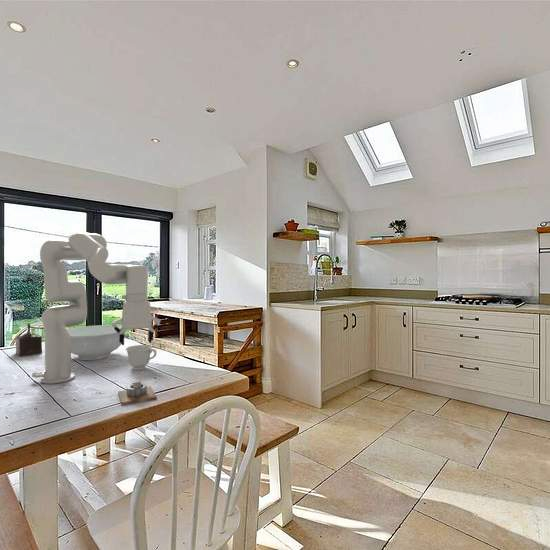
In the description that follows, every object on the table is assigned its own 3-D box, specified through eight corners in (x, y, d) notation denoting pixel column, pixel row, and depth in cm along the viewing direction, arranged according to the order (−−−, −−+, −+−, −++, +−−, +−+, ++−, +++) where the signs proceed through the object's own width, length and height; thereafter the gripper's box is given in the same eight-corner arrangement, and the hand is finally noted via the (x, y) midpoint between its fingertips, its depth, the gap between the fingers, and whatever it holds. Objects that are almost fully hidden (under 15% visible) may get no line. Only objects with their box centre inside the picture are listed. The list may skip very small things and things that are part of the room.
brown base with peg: (121, 405, 123) (121, 389, 123) (118, 394, 133) (118, 379, 133) (156, 399, 129) (156, 384, 128) (150, 388, 139) (150, 375, 139)
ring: (127, 398, 126) (128, 390, 126) (125, 392, 132) (125, 384, 132) (148, 395, 130) (148, 387, 129) (145, 389, 136) (145, 381, 136)
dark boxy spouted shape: (19, 357, 183) (19, 323, 183) (15, 353, 191) (15, 320, 190) (53, 351, 195) (53, 320, 194) (48, 348, 202) (47, 317, 202)
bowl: (69, 351, 197) (69, 325, 197) (130, 347, 206) (130, 323, 206) (50, 367, 166) (49, 337, 166) (123, 362, 175) (123, 334, 175)
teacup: (149, 373, 158) (149, 351, 158) (120, 371, 161) (120, 349, 161) (162, 366, 170) (162, 346, 170) (135, 364, 173) (135, 344, 173)
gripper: (112, 299, 123) (112, 347, 123) (162, 298, 131) (162, 343, 132) (110, 297, 129) (110, 343, 130) (158, 296, 138) (158, 339, 138)
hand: (136, 343), depth 131 cm, fingers open, 9 cm apart
